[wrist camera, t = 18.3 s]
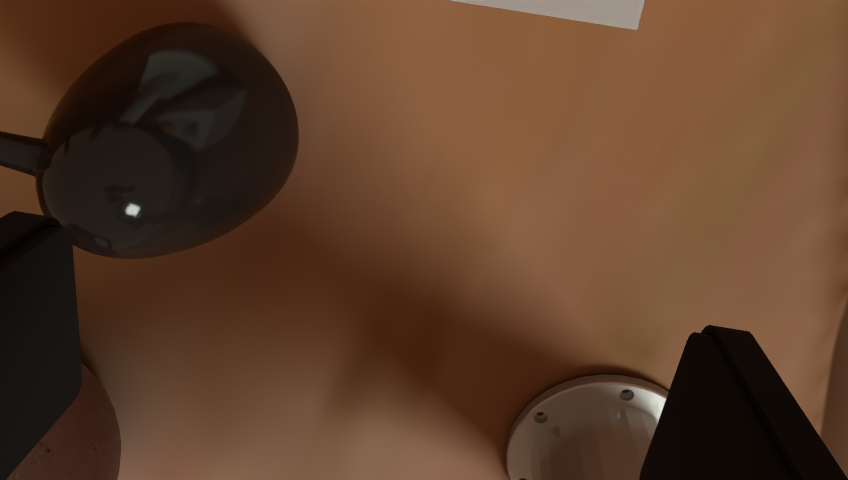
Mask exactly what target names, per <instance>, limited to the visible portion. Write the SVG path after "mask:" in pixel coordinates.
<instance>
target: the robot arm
mask: <svg viewBox="0 0 848 480" xmlns="http://www.w3.org/2000/svg"><path fill="white" fill-rule="evenodd" d="M81 384H82V365H81V352H80V339H79V326H78V313H77V300H76V287H75V274H74V261H73V248H72V238H71V235H70V233H69V231H68V230H67V229H63V228H62V226H61V224H60V222H59V221H58V220H57V219H56V218H54V217H48V216H42V215H36V214H30V213H24V212H17V211H14V212H11V213H8V214H7V215H5V216H3V217H2V218H0V480H6V479H7V478H8V477H9V476H10V475H11V473H12V472H13V471H14V470H15V469H16V468H17V467H18V465H19V464H20V463H21V462H22V461H23V460H24V458H25V457H26V456H27V455H28V454H29V453H30V451H31V450H32V449H33V448H34V447H35V446H36V445H37V443H38V442H39V441H40V440H41V439H42V438H43V436H44V435H45V434H46V433H47V432H48V431H49V430H50V428H51V427H52V426H53V425H54V424H55V423H56V421H57V420H58V419H59V418H60V417H61V416H62V415H63V413H64V412H65V411H66V410H67V409H68V408H69V406H70V405H71V404H72V403H73V402H74V400H75V399H76V397H77V395H78V393H79V391H80V388H81ZM506 457H507V470H508V474H509V478H510V480H848V479H847V477H846V476H845V474H844V473H843V471H842V470H841V468H840V467H839V465H838V464H837V462H836V461H835V459H834V458H833V456H832V455H831V453H830V452H829V450H828V449H827V447H826V445H825V444H824V443H823V441H822V439H821V438H820V436H819V435H818V433H817V432H816V430H815V429H814V427H813V426H812V424H811V423H810V421H809V420H808V418H807V417H806V415H805V414H804V412H803V411H802V409H801V408H800V406H799V405H798V403H797V402H796V400H795V399H794V397H793V396H792V394H791V393H790V391H789V390H788V388H787V387H786V385H785V383H784V382H783V380H782V379H781V377H780V376H779V374H778V373H777V371H776V370H775V368H774V367H773V365H772V364H771V362H770V361H769V359H768V358H767V356H766V355H765V353H764V352H763V350H762V349H761V347H760V346H759V344H758V343H757V341H756V340H755V338H754V337H753V335H752V334H751V333H750V332H748V331H743V330H736V329H730V328H724V327H718V326H712V325H708V326H706V327H705V328H704V329H703V331H702V332H701V333H696V332H694V333H692V334H691V335H690V336H689V338H688V340H687V342H686V345H685V348H684V351H683V354H682V356H681V359H680V362H679V365H678V368H677V370H676V373H675V376H674V379H673V382H672V384H671V387H670V390H669V392H668V391H666V390H664V389H663V388H661V387H660V386H658V385H655V384H653V383H650V382H647V381H645V380H642V379H638V378H633V377H628V376H624V375H605V374H603V375H593V376H584V377H580V378H577V379H573V380H569V381H566V382H563V383H561V384H559V385H557V386H555V387H552V388H550V389H548V390H547V391H545V392H544V393H542V394H541V395H539V396H538V397H536V398H535V399H533V400H532V401H531V402H530V403H529V404H528V405H527V406H526V407H525V408H524V409H523V410H522V412H521V413H520V415H519V416H518V418H517V419H516V421H515V422H514V424H513V426H512V429H511V431H510V434H509V437H508V442H507V450H506Z"/></svg>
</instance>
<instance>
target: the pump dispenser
mask: <svg viewBox="0 0 848 480" xmlns="http://www.w3.org/2000/svg"><path fill="white" fill-rule="evenodd" d="M298 141H299V131H298V121H297V115H296V111H295V107H294V104H293V101H292V98H291V96H290V93H289V91H288V89H287V87H286V85H285V83H284V82H283V80H282V78H281V77H280V75H279V74H278V72H277V71H276V70H275V68H274V67H273V66H272V65H271V63H270V62H269V61H268V60H267V59H266V58H265V57H264V56H263V55H262V54H261V53H260V52H259V51H258V50H256V49H255V48H254V47H253V46H251V45H250V44H249V43H247V42H246V41H244V40H243V39H241V38H239V37H238V36H236V35H234V34H232V33H230V32H228V31H225V30H223V29H220V28H217V27H214V26H210V25H206V24H200V23H192V22H179V23H169V24H164V25H160V26H156V27H153V28H150V29H147V30H144V31H142V32H140V33H137V34H135V35H133V36H131V37H130V38H128V39H126V40H124V41H123V42H121V43H120V44H118V45H117V46H115V47H114V48H112V49H111V50H110V51H108V52H107V53H105V54H104V55H103V56H101V57H100V58H99V59H98V60H96V61H95V62H94V63H93V64H92V65H91V66H90V67H88V68H87V69H86V70H85V71H84V72H83V73H82V74H81V75H80V76H79V77H78V79H77V80H76V81H75V82H74V83H73V84H72V86H71V87H70V88H69V89H68V91H67V92H66V93H65V95H64V96H63V97H62V99H61V100H60V102H59V103H58V105H57V107H56V108H55V110H54V112H53V114H52V115H51V117H50V120H49V122H48V124H47V126H46V129H45V132H44V135H43V137H42V139H39V138H33V137H27V136H22V135H17V134H12V133H7V132H2V131H0V165H1V166H4V167H7V168H10V169H14V170H17V171H20V172H23V173H26V174H29V175H32V176H34V177H35V179H36V191H37V196H38V201H39V204H40V207H41V210H42V213H43V215H44V216H48V217H54V218H56V219H57V220H58V221H59V222H60V224H61V226H62V228H63V229H67V230H68V231H69V233H70V235H71V238H72V245H74V246H76V247H78V248H80V249H82V250H84V251H87V252H90V253H93V254H96V255H100V256H105V257H111V258H119V259H142V258H151V257H158V256H163V255H168V254H172V253H176V252H180V251H183V250H187V249H190V248H193V247H196V246H199V245H202V244H204V243H207V242H209V241H212V240H214V239H216V238H219V237H221V236H223V235H225V234H227V233H228V232H230V231H232V230H234V229H235V228H237V227H239V226H240V225H242V224H243V223H245V222H246V221H248V220H249V219H250V218H252V217H253V216H255V215H256V214H257V213H259V212H260V211H261V210H262V209H263V208H265V207H266V206H267V205H268V204H269V203H270V202H271V201H272V200H273V199H274V197H275V196H276V195H277V194H278V193H279V191H280V190H281V189H282V187H283V186H284V184H285V183H286V181H287V179H288V178H289V176H290V173H291V171H292V169H293V166H294V163H295V160H296V156H297V150H298Z"/></svg>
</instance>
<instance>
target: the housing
mask: <svg viewBox="0 0 848 480" xmlns="http://www.w3.org/2000/svg"><path fill="white" fill-rule="evenodd" d="M452 1H458V2H464V3H471V4H477V5H483V6H490V7H496V8H502V9H508V10H515V11H521V12H527V13H533V14H540V15H546V16H552V17H559V18H565V19H571V20H577V21H584V22H590V23H596V24H602V25H609V26H615V27H621V28H628V29H634V30H637V28H638V24H639V20H640V16H641V13H642V9H643V5H644V1H645V0H452Z"/></svg>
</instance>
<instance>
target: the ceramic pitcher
mask: <svg viewBox="0 0 848 480" xmlns="http://www.w3.org/2000/svg"><path fill="white" fill-rule="evenodd" d="M81 365H82V384H81V388H80V391H79V393H78V395H77V397H76V399H75V400H74V402H73V403H72V404H71V405H70V406H69V408H68V409H67V410H66V411H65V412H64V413H63V415H62V416H61V417H60V418H59V419H58V420H57V421H56V423H55V424H54V425H53V426H52V427H51V428H50V430H49V431H48V432H47V433H46V434H45V435H44V436H43V438H42V439H41V440H40V441H39V442H38V443H37V445H36V446H35V447H34V448H33V449H32V450H31V451H30V453H29V454H28V455H27V456H26V457H25V458H24V460H23V461H22V462H21V463H20V464H19V465H18V467H17V468H16V469H15V470H14V471H13V472H12V473H11V475H10V476H9V477H8V478H7V479H6V480H117V478H118V474H119V466H120V456H121V439H120V431H119V426H118V422H117V418H116V414H115V410H114V408H113V405H112V403H111V401H110V399H109V397H108V395H107V393H106V391H105V389H104V388H103V386H102V385H101V383H100V382H99V381H98V379H97V378H96V377H95V376H94V375H93V374H92V372H91V371H90V370H89V369H88V368H87V367H86V366H85V365H84V364H83V363H82V362H81Z"/></svg>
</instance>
